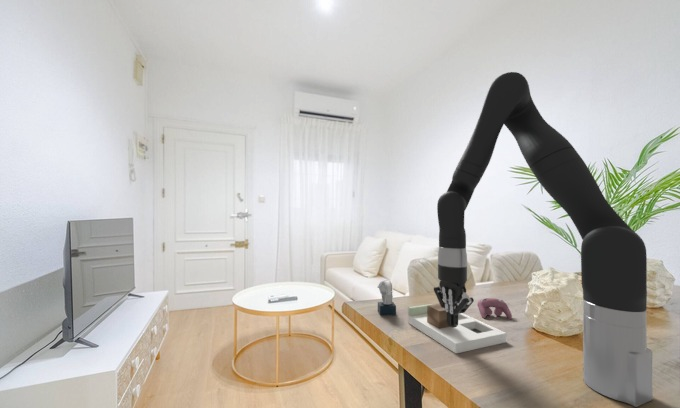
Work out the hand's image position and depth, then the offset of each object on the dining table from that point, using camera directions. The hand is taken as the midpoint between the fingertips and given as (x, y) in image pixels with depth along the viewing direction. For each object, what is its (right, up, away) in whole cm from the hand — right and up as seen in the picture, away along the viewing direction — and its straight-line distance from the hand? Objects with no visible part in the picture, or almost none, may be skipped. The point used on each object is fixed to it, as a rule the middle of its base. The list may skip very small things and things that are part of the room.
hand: (452, 326), depth 77 cm
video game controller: (+22, -5, +18) cm, 29 cm away
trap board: (+3, -4, +5) cm, 7 cm away
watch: (-15, -4, +20) cm, 25 cm away
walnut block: (-2, -2, +5) cm, 5 cm away
